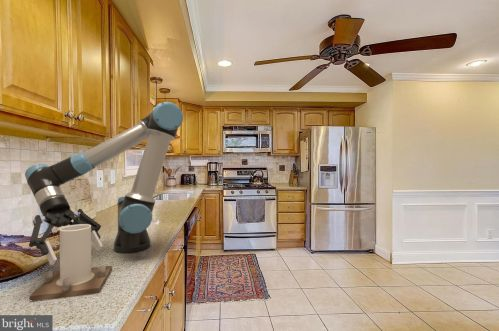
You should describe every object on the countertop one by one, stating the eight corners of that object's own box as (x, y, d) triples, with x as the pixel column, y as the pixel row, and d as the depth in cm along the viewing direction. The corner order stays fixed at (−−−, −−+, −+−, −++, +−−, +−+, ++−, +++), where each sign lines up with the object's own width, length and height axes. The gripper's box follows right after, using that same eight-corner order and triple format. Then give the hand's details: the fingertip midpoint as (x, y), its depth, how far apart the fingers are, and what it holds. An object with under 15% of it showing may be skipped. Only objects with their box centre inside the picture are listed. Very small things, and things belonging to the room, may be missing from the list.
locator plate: (111, 269, 92) (111, 257, 92) (99, 292, 76) (99, 277, 76) (55, 275, 88) (55, 262, 88) (29, 301, 71) (29, 285, 71)
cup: (87, 270, 88) (87, 222, 88) (94, 277, 82) (94, 226, 82) (57, 277, 82) (57, 227, 82) (63, 286, 76) (62, 231, 76)
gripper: (86, 204, 100) (111, 250, 93) (0, 216, 78) (25, 277, 71) (94, 191, 97) (120, 237, 91) (8, 200, 75) (34, 261, 69)
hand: (78, 255), depth 81 cm, fingers open, 13 cm apart
